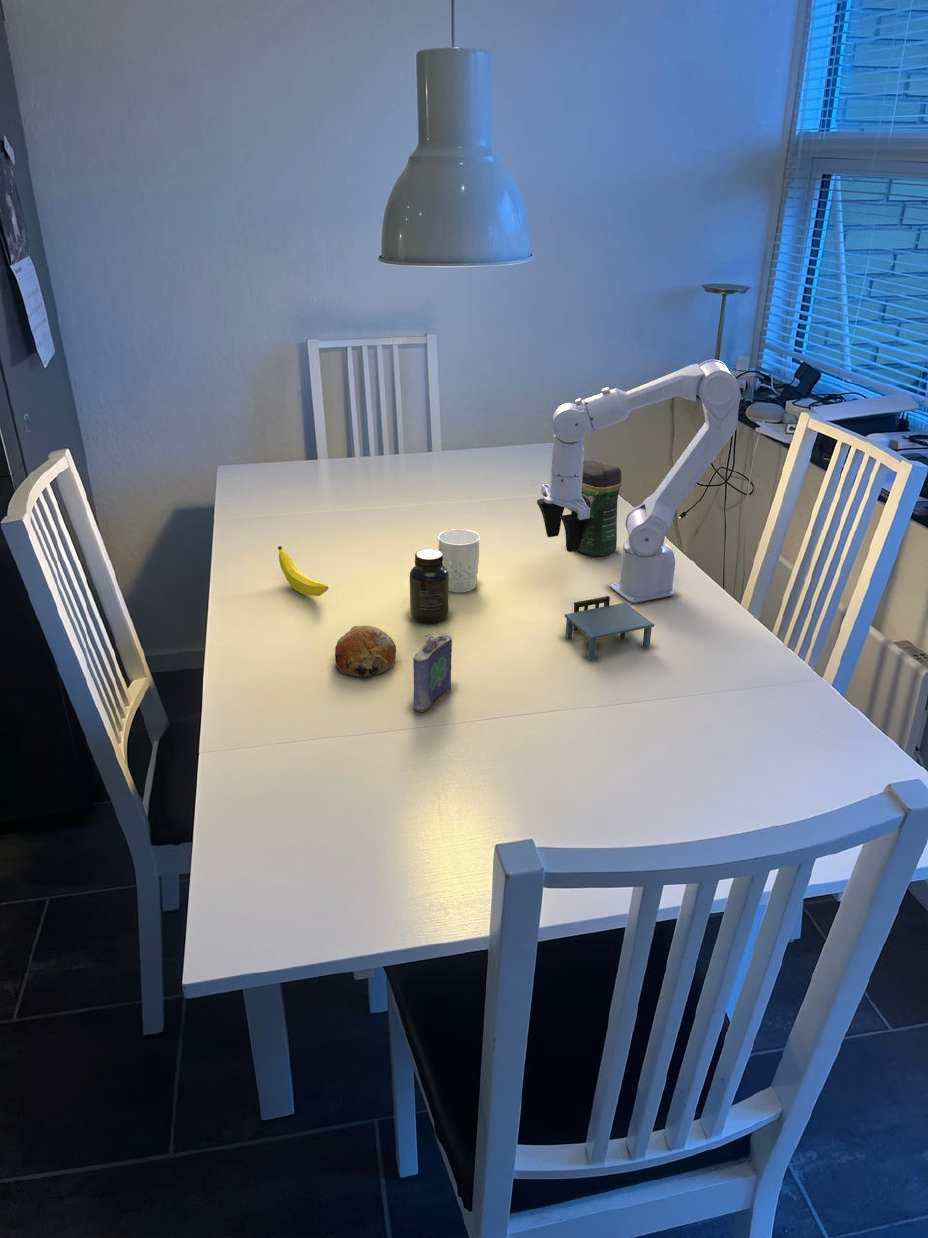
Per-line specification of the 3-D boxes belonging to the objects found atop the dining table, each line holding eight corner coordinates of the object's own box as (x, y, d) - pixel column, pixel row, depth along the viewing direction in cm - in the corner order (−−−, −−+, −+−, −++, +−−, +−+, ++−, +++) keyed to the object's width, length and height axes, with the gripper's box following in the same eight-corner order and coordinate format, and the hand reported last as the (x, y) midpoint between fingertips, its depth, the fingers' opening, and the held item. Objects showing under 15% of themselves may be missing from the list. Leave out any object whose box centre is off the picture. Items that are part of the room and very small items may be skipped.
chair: (603, 622, 169) (605, 593, 166) (626, 640, 163) (628, 611, 160) (569, 629, 166) (571, 600, 164) (591, 648, 160) (593, 618, 158)
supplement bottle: (413, 606, 174) (412, 545, 168) (450, 608, 173) (450, 547, 168) (407, 623, 168) (406, 560, 162) (446, 625, 167) (446, 562, 162)
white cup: (475, 596, 178) (475, 546, 174) (433, 592, 180) (433, 542, 175) (482, 579, 185) (483, 530, 181) (443, 575, 186) (443, 527, 182)
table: (623, 625, 168) (625, 602, 166) (651, 647, 161) (654, 623, 159) (563, 637, 164) (564, 614, 162) (589, 661, 156) (591, 637, 154)
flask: (424, 714, 141) (423, 650, 137) (407, 709, 143) (406, 646, 138) (455, 686, 149) (455, 625, 144) (438, 682, 150) (438, 621, 145)
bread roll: (402, 678, 158) (409, 630, 158) (378, 682, 148) (386, 631, 148) (347, 668, 161) (354, 621, 160) (320, 671, 151) (328, 621, 151)
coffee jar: (622, 551, 198) (630, 465, 190) (594, 560, 194) (601, 472, 185) (590, 537, 205) (596, 453, 196) (562, 545, 201) (567, 460, 192)
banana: (322, 613, 171) (319, 581, 168) (274, 578, 185) (271, 547, 182) (336, 609, 173) (334, 577, 170) (288, 574, 186) (285, 544, 184)
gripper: (528, 463, 175) (525, 532, 181) (566, 487, 163) (562, 560, 170) (561, 459, 178) (558, 527, 184) (602, 482, 166) (597, 554, 172)
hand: (562, 543), depth 177 cm, fingers open, 7 cm apart
